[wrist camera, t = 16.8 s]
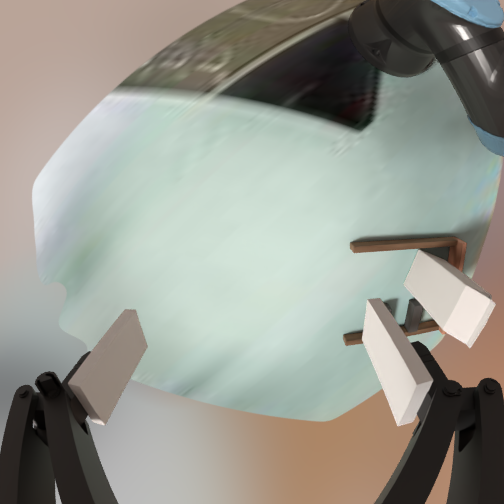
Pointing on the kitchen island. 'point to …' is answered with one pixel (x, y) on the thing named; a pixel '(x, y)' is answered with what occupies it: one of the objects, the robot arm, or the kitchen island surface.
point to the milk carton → (449, 296)
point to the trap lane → (414, 307)
